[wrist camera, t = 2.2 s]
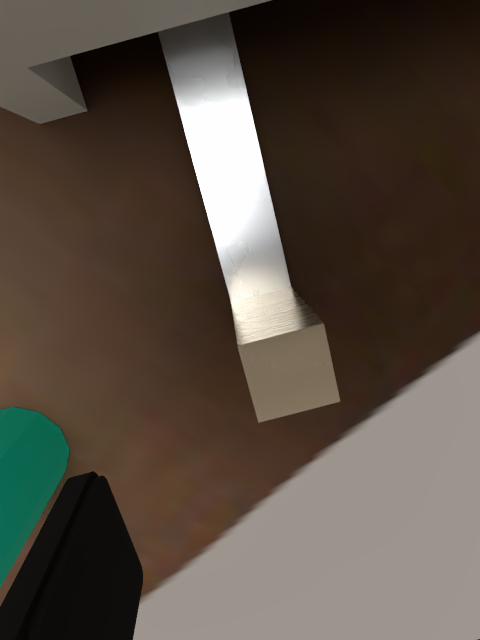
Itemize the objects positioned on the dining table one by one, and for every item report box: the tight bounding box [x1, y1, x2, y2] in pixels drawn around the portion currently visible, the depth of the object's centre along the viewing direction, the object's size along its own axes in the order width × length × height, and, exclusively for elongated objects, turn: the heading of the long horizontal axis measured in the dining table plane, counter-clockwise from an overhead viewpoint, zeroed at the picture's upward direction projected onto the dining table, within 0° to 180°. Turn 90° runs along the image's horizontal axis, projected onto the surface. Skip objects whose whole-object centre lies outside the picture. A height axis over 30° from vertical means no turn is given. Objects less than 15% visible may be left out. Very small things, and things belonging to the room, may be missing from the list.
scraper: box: [158, 12, 340, 423], centre depth 17 cm, size 19×7×10 cm, turn 14°
